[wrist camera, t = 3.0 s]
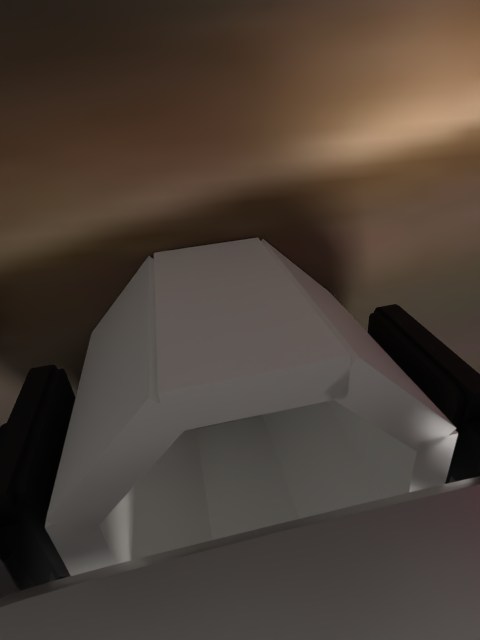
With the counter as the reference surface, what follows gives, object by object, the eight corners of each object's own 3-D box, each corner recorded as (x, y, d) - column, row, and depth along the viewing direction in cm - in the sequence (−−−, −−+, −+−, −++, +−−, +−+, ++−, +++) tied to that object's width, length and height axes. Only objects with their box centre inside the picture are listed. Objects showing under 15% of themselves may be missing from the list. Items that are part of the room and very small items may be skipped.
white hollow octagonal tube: (327, 417, 15) (419, 582, 10) (129, 459, 14) (118, 665, 9) (334, 226, 11) (484, 330, 6) (67, 265, 11) (-11, 425, 5)
